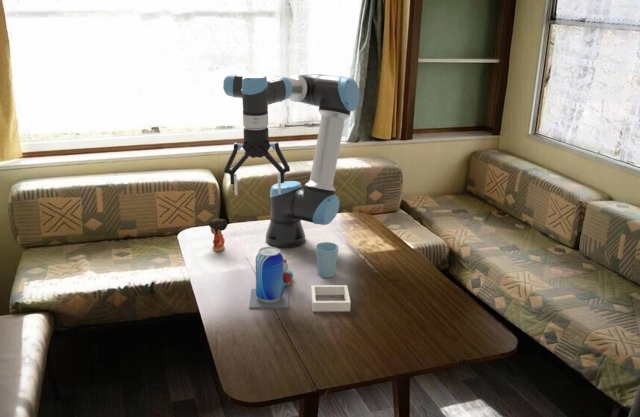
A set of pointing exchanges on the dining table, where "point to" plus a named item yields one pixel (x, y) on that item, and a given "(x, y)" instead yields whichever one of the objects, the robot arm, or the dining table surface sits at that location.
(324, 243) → the cup
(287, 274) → the toy car
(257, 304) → the mat
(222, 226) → the figurine
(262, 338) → the dining table surface
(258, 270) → the beer can
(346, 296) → the pocket
